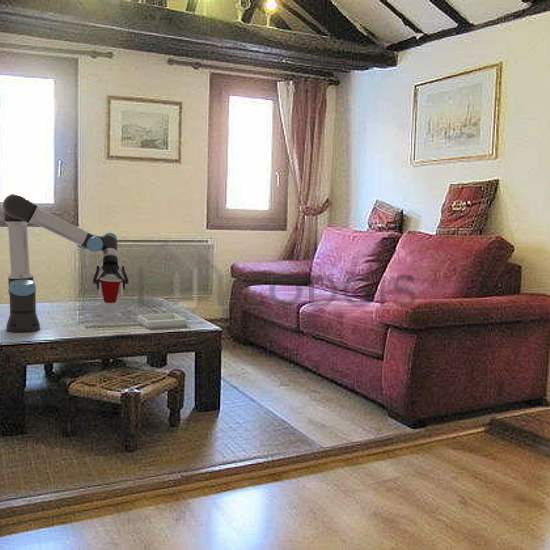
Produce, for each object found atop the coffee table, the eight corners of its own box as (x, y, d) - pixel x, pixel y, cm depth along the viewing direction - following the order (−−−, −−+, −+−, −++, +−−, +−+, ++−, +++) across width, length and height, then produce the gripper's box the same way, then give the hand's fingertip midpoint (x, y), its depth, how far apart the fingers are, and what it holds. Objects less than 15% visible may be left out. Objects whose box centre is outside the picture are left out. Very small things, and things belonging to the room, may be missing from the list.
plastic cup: (118, 304, 314) (118, 279, 313) (96, 303, 314) (96, 279, 313) (124, 300, 325) (124, 277, 324) (102, 300, 325) (103, 276, 324)
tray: (147, 329, 319) (147, 322, 319) (137, 321, 337) (137, 315, 337) (186, 326, 328) (186, 319, 328) (174, 319, 346) (174, 313, 346)
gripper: (132, 264, 336) (133, 298, 322) (87, 263, 329) (87, 298, 316) (133, 254, 330) (134, 289, 317) (87, 253, 324) (87, 289, 310)
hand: (111, 294), depth 316 cm, fingers closed on plastic cup, 10 cm apart
